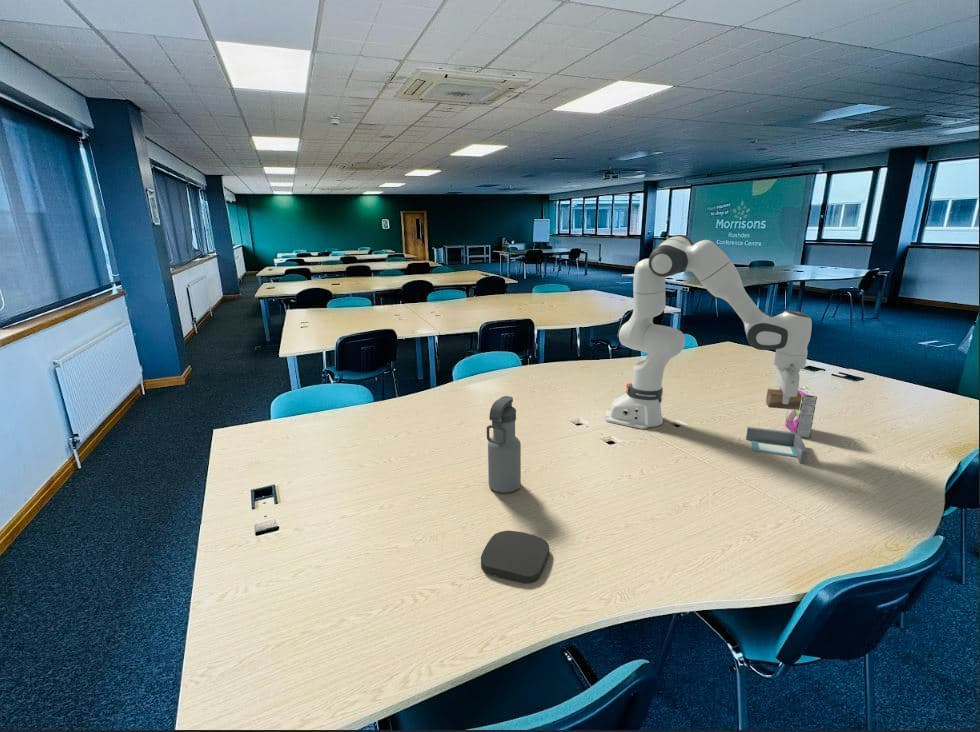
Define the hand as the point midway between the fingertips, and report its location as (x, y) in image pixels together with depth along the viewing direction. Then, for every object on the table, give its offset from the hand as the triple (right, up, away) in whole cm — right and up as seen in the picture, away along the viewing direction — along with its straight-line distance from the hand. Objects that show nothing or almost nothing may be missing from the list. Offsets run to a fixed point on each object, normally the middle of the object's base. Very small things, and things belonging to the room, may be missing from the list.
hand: (783, 400), depth 162 cm
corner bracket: (0, -18, +5) cm, 18 cm away
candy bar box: (+16, -13, +19) cm, 28 cm away
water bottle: (-94, -25, -14) cm, 98 cm away
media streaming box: (-92, -35, -46) cm, 109 cm away
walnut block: (0, -2, +1) cm, 2 cm away
